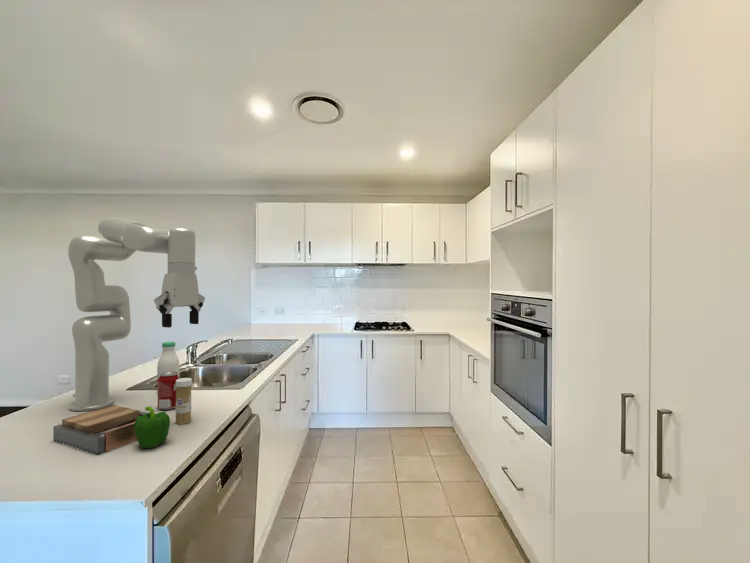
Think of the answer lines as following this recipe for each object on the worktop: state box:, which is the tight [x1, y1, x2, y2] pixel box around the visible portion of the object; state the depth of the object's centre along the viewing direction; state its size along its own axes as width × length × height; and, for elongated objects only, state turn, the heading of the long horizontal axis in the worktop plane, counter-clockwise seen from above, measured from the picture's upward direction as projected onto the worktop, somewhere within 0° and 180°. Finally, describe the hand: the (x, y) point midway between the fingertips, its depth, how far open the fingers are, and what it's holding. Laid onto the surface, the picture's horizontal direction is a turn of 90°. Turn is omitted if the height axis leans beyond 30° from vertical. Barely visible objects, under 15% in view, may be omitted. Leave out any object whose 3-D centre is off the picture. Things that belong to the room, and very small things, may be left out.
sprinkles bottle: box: [174, 377, 193, 425], centre depth 118 cm, size 5×5×14 cm
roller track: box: [52, 410, 148, 456], centre depth 107 cm, size 20×18×5 cm
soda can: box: [157, 372, 181, 411], centre depth 131 cm, size 7×7×12 cm
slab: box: [61, 404, 140, 434], centre depth 109 cm, size 12×14×2 cm
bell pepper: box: [134, 405, 171, 449], centre depth 102 cm, size 8×8×10 cm
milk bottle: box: [156, 341, 180, 394], centre depth 148 cm, size 8×8×20 cm
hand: (180, 325), depth 114 cm, fingers open, 9 cm apart
